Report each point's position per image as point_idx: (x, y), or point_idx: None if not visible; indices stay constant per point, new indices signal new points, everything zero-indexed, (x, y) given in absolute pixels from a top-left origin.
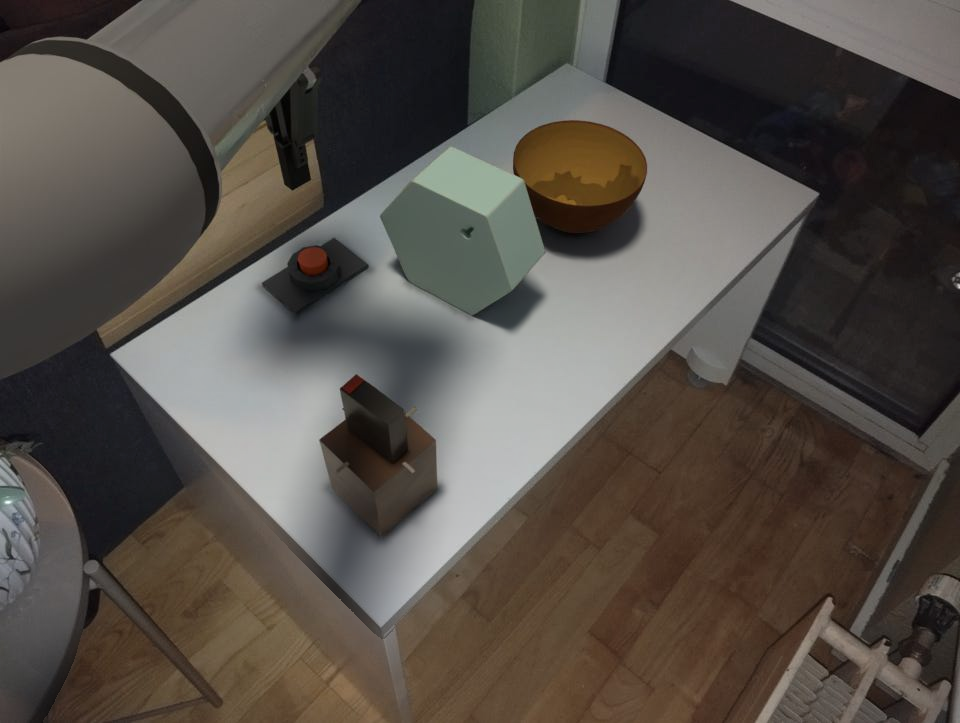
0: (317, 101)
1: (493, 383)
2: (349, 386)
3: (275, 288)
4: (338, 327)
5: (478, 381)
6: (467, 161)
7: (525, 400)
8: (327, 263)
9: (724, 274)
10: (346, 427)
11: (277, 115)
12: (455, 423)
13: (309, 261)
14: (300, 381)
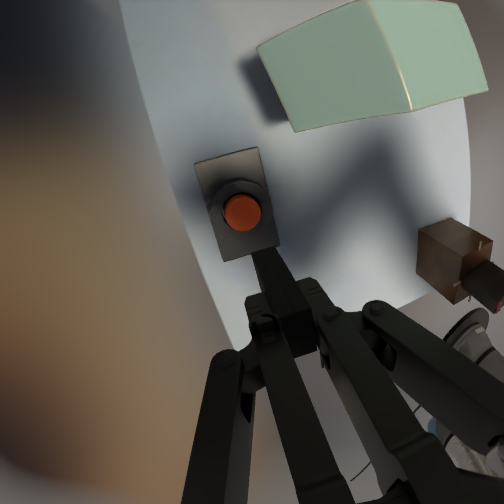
0: (478, 366)
1: (426, 133)
2: (498, 309)
3: (239, 252)
4: (314, 213)
5: (420, 141)
6: (409, 12)
7: (443, 126)
8: (251, 197)
9: None
10: (460, 287)
11: (344, 404)
12: (433, 180)
13: (248, 220)
14: (344, 264)
